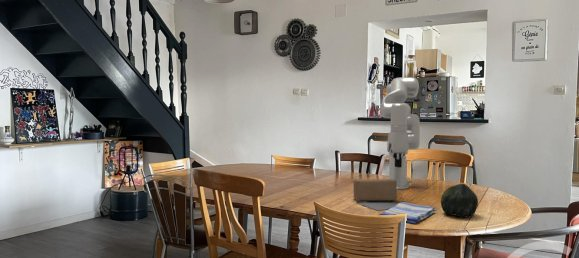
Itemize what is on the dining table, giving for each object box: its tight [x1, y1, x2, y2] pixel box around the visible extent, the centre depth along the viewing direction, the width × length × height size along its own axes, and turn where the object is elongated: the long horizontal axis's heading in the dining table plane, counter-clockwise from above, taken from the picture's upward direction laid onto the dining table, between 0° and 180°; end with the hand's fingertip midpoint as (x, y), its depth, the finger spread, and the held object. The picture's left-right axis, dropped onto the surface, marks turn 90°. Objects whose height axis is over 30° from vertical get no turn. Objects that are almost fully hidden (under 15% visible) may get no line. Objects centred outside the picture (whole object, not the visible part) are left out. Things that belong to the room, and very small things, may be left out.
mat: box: [356, 201, 399, 212], centre depth 205 cm, size 17×16×1 cm
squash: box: [440, 183, 479, 218], centre depth 186 cm, size 14×15×15 cm
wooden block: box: [352, 178, 398, 202], centre depth 214 cm, size 10×10×20 cm
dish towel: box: [378, 201, 437, 225], centre depth 186 cm, size 17×24×3 cm
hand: (398, 166), depth 208 cm, fingers closed
